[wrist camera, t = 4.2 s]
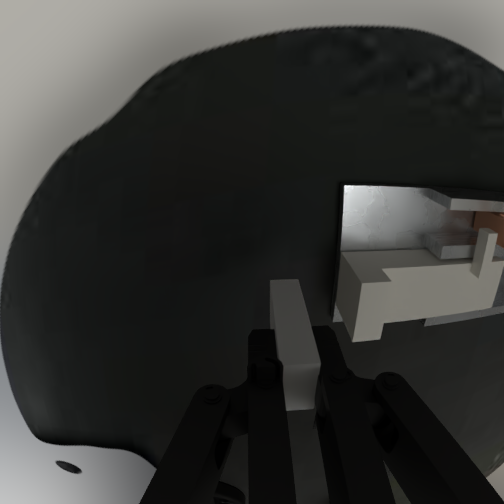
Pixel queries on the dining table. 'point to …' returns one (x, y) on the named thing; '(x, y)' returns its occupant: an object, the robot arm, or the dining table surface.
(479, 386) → the dining table surface
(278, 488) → the robot arm
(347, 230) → the gauge housing
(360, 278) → the plunger
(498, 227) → the brown l-shaped block
